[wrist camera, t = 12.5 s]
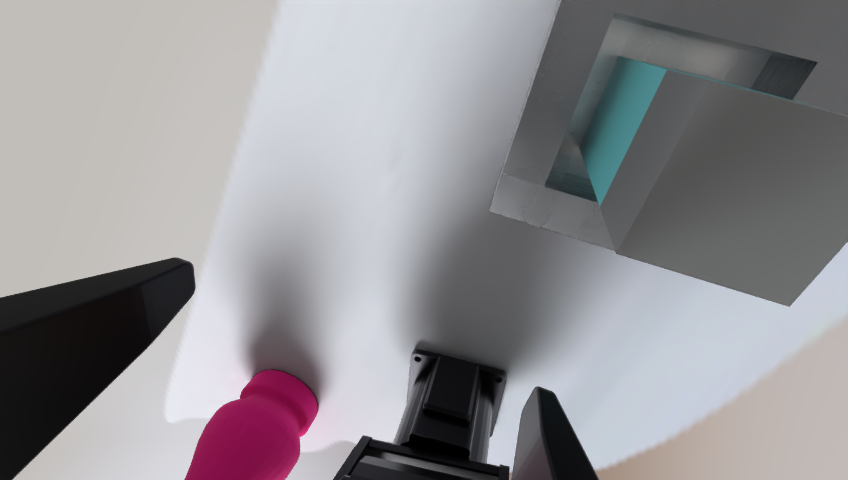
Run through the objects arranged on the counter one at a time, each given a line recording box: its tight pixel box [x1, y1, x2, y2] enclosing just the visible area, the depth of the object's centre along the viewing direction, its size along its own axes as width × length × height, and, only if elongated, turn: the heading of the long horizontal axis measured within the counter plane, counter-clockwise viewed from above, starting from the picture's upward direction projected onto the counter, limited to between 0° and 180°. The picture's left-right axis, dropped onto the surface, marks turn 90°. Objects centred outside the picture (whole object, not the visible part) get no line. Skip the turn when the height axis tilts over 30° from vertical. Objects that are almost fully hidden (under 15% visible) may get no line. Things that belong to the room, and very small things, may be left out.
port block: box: [489, 0, 848, 251], centre depth 16 cm, size 10×10×4 cm
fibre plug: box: [580, 56, 848, 307], centre depth 13 cm, size 4×4×10 cm
